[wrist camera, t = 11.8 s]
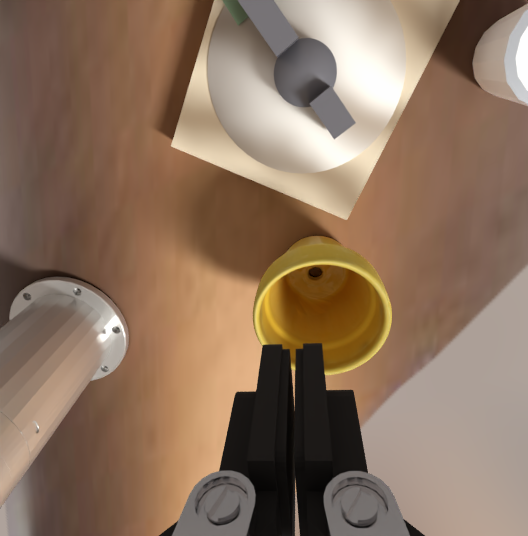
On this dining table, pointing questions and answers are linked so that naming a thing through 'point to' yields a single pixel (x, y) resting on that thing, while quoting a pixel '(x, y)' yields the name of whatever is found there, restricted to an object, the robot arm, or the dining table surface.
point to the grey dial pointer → (300, 66)
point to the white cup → (504, 58)
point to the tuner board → (305, 118)
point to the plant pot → (323, 304)
